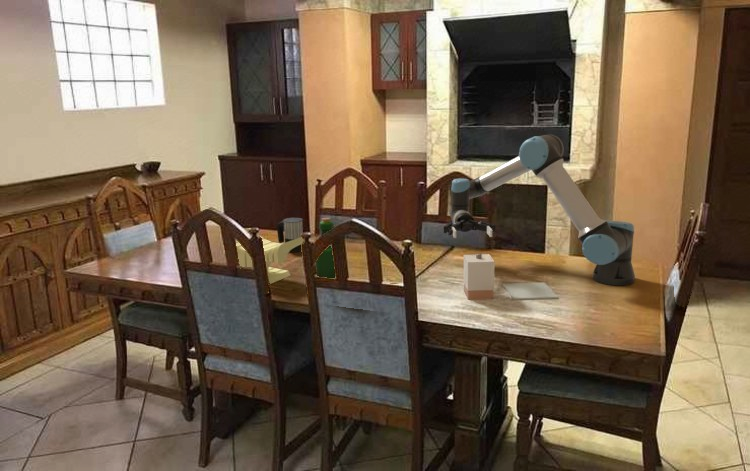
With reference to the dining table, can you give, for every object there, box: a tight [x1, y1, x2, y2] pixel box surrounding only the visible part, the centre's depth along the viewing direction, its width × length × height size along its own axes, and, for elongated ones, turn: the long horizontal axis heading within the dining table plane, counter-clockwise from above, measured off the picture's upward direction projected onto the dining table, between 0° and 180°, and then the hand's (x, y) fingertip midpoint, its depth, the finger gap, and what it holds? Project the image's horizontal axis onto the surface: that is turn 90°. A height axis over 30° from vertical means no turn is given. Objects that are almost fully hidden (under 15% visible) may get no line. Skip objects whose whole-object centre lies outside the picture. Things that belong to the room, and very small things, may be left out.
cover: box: [462, 253, 496, 291], centre depth 219 cm, size 9×9×13 cm
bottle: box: [314, 217, 335, 278], centre depth 227 cm, size 11×11×28 cm
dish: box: [463, 283, 494, 301], centre depth 220 cm, size 9×9×4 cm
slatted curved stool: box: [221, 227, 303, 285], centre depth 244 cm, size 30×16×18 cm, turn 56°
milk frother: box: [276, 217, 304, 253], centre depth 283 cm, size 14×16×15 cm
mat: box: [502, 281, 559, 301], centre depth 223 cm, size 16×16×1 cm
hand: (473, 234), depth 226 cm, fingers open, 13 cm apart
